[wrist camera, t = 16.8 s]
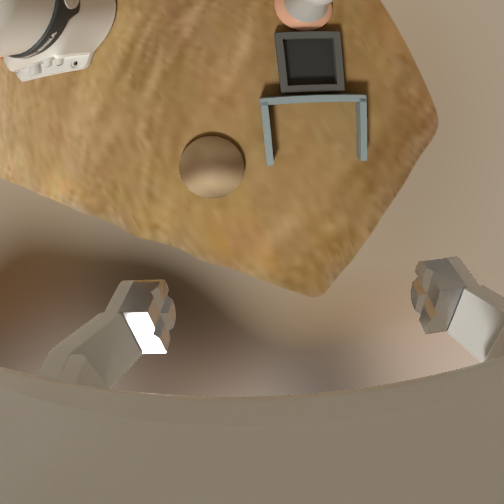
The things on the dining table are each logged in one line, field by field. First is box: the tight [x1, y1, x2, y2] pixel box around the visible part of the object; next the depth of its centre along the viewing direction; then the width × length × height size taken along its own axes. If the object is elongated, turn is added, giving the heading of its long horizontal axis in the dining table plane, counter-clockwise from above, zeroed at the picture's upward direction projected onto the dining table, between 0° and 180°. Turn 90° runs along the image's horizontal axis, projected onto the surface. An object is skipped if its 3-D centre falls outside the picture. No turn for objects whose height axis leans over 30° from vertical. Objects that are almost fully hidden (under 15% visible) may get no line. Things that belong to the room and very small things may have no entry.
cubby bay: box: [260, 93, 367, 166], centre depth 42 cm, size 10×15×2 cm, turn 97°
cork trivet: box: [179, 136, 244, 198], centre depth 47 cm, size 10×10×1 cm
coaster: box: [274, 0, 332, 31], centre depth 33 cm, size 8×8×1 cm
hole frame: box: [274, 31, 345, 93], centre depth 37 cm, size 9×9×2 cm
